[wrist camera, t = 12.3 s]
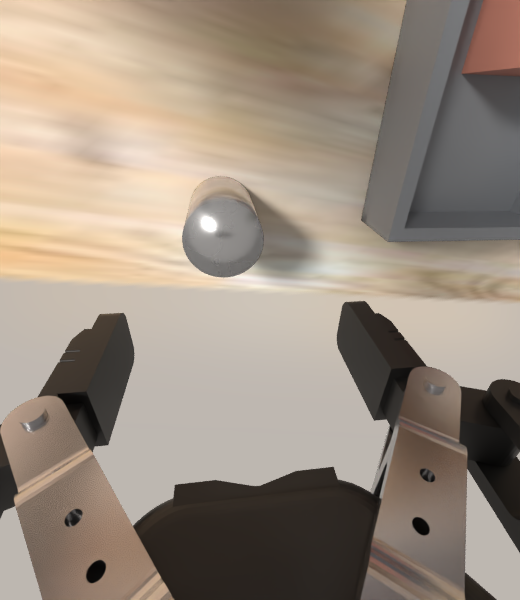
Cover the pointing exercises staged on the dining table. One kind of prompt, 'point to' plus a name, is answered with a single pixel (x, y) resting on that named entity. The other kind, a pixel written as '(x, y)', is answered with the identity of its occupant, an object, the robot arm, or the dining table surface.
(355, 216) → the dining table surface
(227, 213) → the steel cylinder
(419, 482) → the robot arm
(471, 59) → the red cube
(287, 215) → the dining table surface
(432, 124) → the tote
